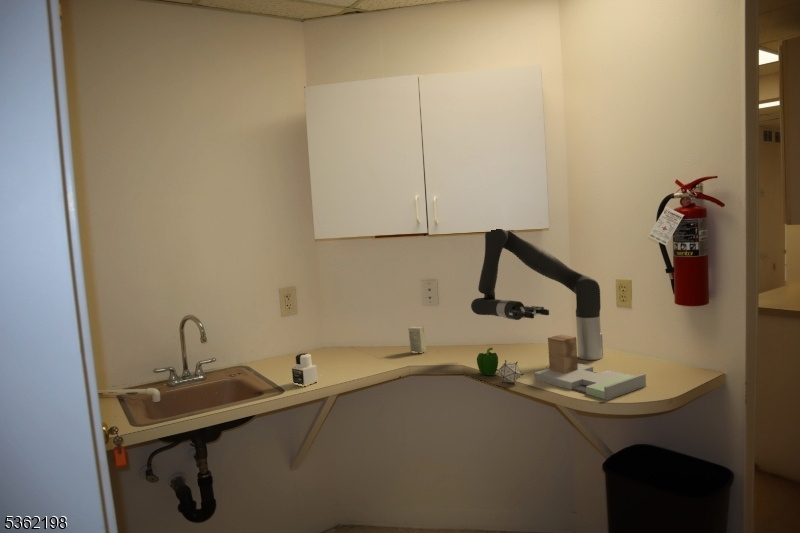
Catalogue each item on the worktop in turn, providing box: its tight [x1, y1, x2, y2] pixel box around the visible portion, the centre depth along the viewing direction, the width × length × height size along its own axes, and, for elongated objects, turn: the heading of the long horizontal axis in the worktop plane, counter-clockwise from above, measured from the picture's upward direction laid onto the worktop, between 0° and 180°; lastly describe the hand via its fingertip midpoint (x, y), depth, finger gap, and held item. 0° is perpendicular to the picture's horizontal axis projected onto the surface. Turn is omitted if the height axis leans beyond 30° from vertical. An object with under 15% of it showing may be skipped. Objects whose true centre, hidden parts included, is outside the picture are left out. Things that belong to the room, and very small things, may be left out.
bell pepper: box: [476, 347, 499, 376], centre depth 199 cm, size 8×8×10 cm
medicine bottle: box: [291, 352, 319, 385], centre depth 204 cm, size 7×7×12 cm
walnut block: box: [547, 334, 578, 374], centre depth 188 cm, size 7×7×12 cm
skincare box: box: [408, 326, 427, 352], centre depth 241 cm, size 6×4×12 cm
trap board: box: [533, 362, 647, 401], centre depth 180 cm, size 20×31×4 cm, turn 31°
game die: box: [496, 359, 524, 386], centre depth 186 cm, size 9×8×10 cm
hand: (541, 314), depth 195 cm, fingers open, 8 cm apart
